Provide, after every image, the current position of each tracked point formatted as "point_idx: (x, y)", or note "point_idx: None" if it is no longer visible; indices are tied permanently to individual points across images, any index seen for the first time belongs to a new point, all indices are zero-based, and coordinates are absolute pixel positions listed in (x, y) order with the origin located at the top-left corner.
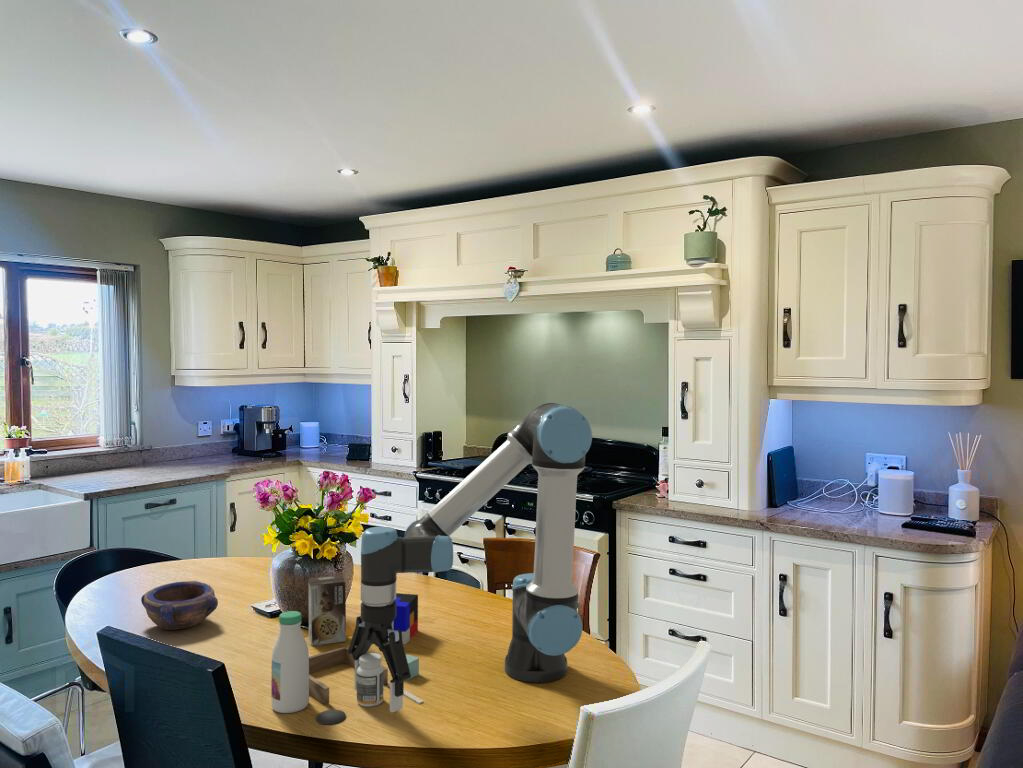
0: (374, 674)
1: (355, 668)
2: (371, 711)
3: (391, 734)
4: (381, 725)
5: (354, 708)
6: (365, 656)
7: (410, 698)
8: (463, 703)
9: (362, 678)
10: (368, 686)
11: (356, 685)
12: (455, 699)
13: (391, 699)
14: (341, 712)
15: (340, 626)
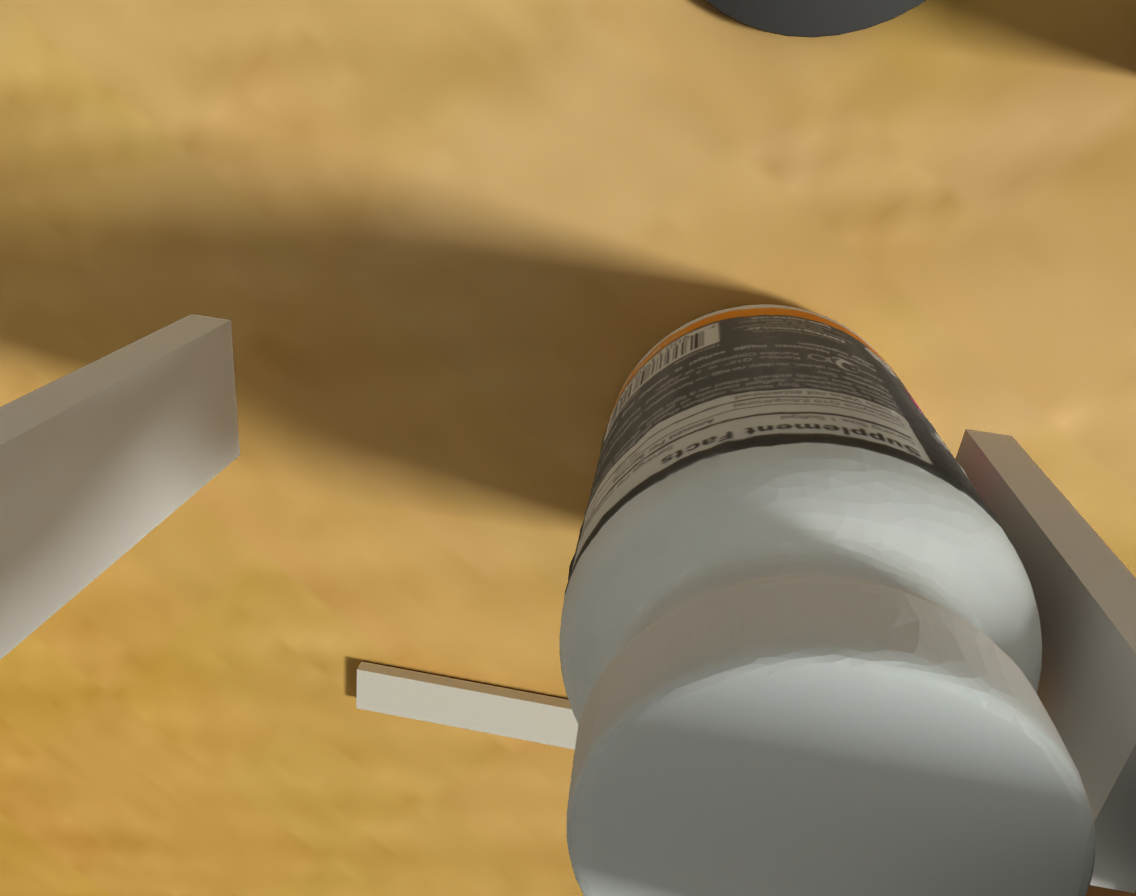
0: (576, 587)
1: (1126, 597)
2: (565, 299)
3: (4, 91)
4: (231, 154)
5: (775, 220)
6: (951, 843)
7: (490, 688)
8: (151, 828)
9: (741, 433)
10: (644, 427)
11: (988, 460)
12: (240, 843)
13: (103, 361)
14: (800, 3)
15: None
